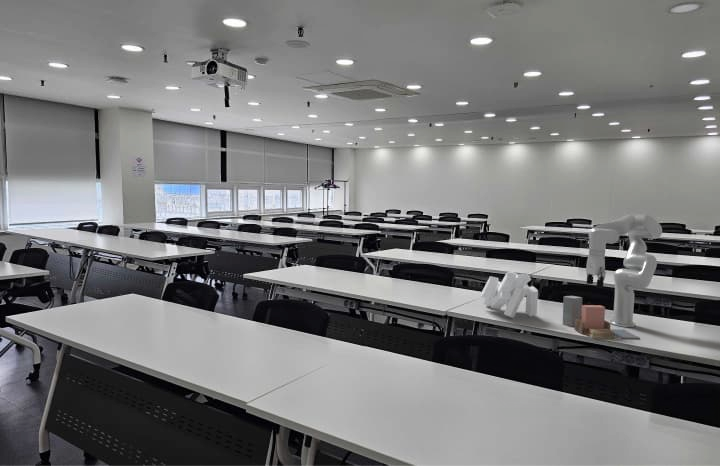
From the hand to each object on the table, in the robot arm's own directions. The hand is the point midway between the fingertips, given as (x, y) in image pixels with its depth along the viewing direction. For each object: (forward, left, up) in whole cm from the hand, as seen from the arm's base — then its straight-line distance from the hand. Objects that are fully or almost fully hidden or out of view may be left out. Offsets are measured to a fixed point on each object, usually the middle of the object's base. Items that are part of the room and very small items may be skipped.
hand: (594, 285), depth 234 cm
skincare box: (-14, -4, -25) cm, 29 cm away
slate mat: (+4, +14, -25) cm, 29 cm away
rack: (0, 0, -25) cm, 25 cm away
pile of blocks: (-37, -32, -25) cm, 55 cm away
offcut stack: (+8, 0, -25) cm, 26 cm away
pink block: (0, 0, -25) cm, 25 cm away
